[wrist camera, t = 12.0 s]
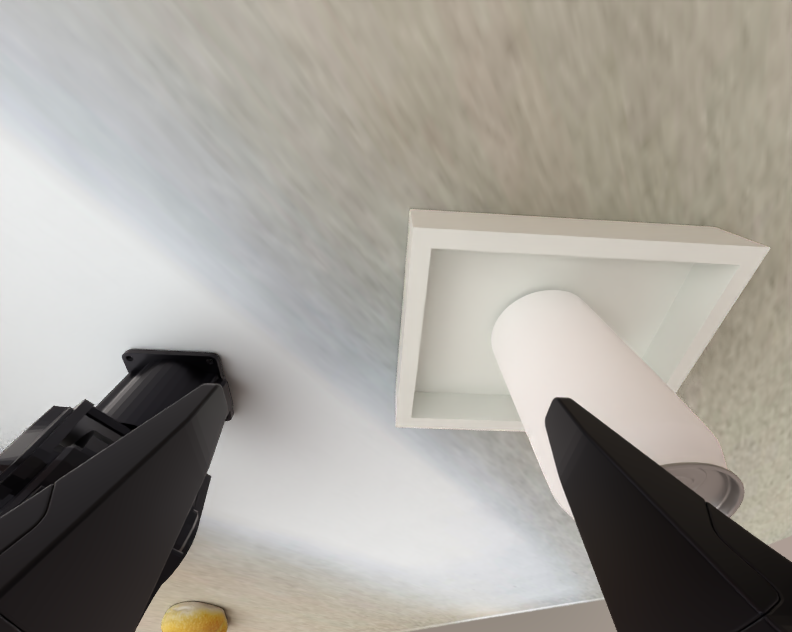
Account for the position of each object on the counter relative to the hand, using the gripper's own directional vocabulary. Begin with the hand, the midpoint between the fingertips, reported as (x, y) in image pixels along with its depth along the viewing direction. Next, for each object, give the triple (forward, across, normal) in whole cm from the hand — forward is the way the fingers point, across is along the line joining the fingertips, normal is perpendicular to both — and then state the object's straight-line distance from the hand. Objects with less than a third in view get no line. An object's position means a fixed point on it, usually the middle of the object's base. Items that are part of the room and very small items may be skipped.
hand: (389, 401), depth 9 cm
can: (+12, -10, +5) cm, 17 cm away
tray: (+13, -10, +5) cm, 17 cm away
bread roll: (+13, +24, +56) cm, 62 cm away
